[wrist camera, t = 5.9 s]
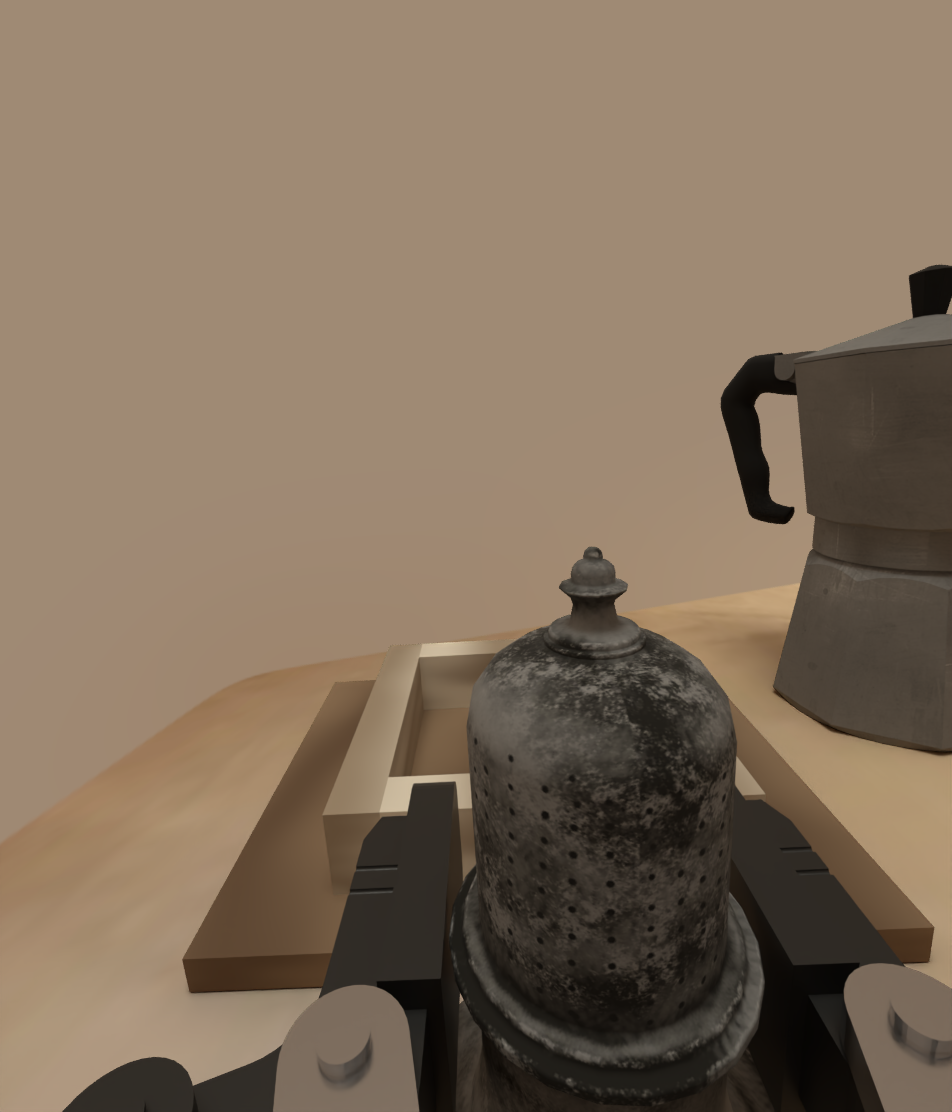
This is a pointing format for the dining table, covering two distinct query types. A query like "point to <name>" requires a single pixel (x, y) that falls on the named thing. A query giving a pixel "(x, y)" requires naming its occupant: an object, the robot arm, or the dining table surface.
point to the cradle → (442, 756)
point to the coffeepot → (867, 521)
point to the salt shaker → (603, 877)
